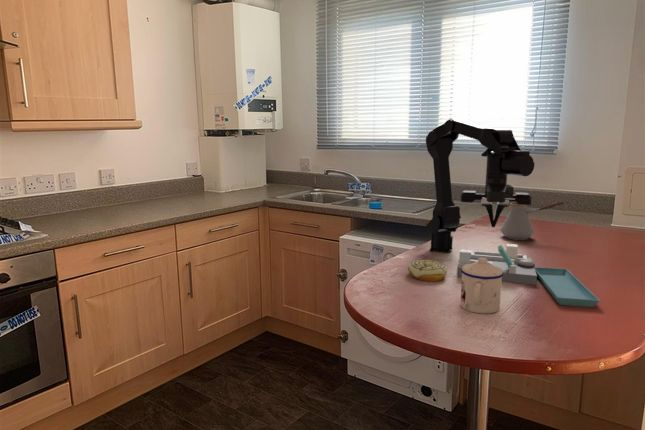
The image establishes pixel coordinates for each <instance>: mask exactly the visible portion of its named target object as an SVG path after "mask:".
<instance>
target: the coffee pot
mask: <svg viewBox="0 0 645 430" xmlns="http://www.w3.org/2000/svg"><path fill="white" fill-rule="evenodd" d="M509 205H510V208H511V209H510V211H509V212H508V214H507V216H506V218H505V220H504V222H503V224H502V226H501V228H500V231H501V232H500V233H502V235H503V236H504V237H505V238H506V239H509V240H516V241H527V240H528V239H529V238H531V237H532V236H533V234H534V227H533V225H532V222H531V219H530V217H529V214H532V213H535V212H538V211H543V210H548V209H552V208H555V207H558V206H560V205H564V207H565V208H567V203H566V202H565V201H560V202H556V203H551V204H548V205H545V206H544V205H543V206H541V207H539V208H538V207H537V208H535V209H532V210H531V209H530V210H527V207H528V206H529V205H519V204H518V203H517V202H516V201H513V202H509Z"/></svg>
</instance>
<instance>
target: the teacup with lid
mask: <svg viewBox="0 0 645 430" xmlns="http://www.w3.org/2000/svg"><path fill="white" fill-rule="evenodd" d="M461 272H462V278H461V286H460V288H461V289H460V306H461V307H462V309H464V310H466V311H469V312H471V313H475V314H484V315H485V314H487V315H488V314H494V313H497V312H498V311H499V310H500V309H501V308H500V307H501V294H502V293H501V292H502V276H503V271H502V270H501V269H500V268H499V267H496V266H494V265H492V264H491V263H489V262H487V258H483V257H481V258H479V259H478V261H476V262H473V263H472V264H466V265H464V266H463V267H462V269H461Z"/></svg>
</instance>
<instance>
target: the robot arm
mask: <svg viewBox="0 0 645 430" xmlns="http://www.w3.org/2000/svg"><path fill="white" fill-rule="evenodd" d="M460 135H461V136H464V137H467V138H470V139H472V140H473V139H474V140H476V141H478V142H479V143H480V145H482V146H483V147H485V148H486V150H485V151H484V152H482V153H481V155H480V156H481V157H486V169H485V187H484V188H485V189H484V193H476V192H477V191H476V190H462V191H461V195H460V202H461V203H470V204H473V202H474V201H480V203H481V204H480V205H481V207H485V209H486V211H487V214H488V218H489V222H490V225H491V226H490V227H491V228H496V226H497V223H498V220H499V218H500V215H501V213H502V212H503V210H504V209H505V208H509V205H510V204H509V203H510V202H517V203H518V204H519V205H528V206H531V205H532V196H531V194H530V193H529V192H515V193H514V188H515V186H514V185H515V184H508V175H510V176H520V177H529V176H530V175H531V174H532V173H533V171H534V169H535V161H534V158H533V157H532V155H530V154H531V153H530V152H531V151H530V150H521V148H520V146H519V145H518V144H519V143H518V142H517V140H516V139H515V137H514V134H513V130H512V129H510V128H506V127H505V128H501V127H486V126H484V125H479V124H476V123H472V122H470V121H466V120H463V119H461V118H450V119H447V120H446V121H444V123H443V124H440V125H439V126H436V127H435V128H434V129H432V130H431V131H429V133H427V135H426V137H425V144H426V145H425V146H426V149H427V150H426V151H427V153H428V154H429V155H430V157H431V158H432V160H433V161H432V162H433V163H432V164H433V173H434V186H435V197H436V203H435V205H434V208H433V209H432V219H430V220H429V221H428V222H427V224H426V226H425V227H426V232H427V233H430V248H429V251H431V252H439V253H440V252H441V253H442V252H443V253H450V252H451V250H453V242H454V241H453V239H454V236H453V235H452V233H456V232H457V229H458V226H459V224H460V220H461V218H462V217H461V212H460V211H461V208H460V206H459V205H456V204H455V203H454V201H453V195H452V194H453V193H452V182H451V169H450V155H451V153H452V151H453V148H454V146H453V145H454V142H455V141H456V140H458V138H459V136H460ZM493 203H496V205H495V211H494V210H493ZM493 211H494V212H493Z"/></svg>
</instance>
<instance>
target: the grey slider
mask: <svg viewBox="0 0 645 430" xmlns="http://www.w3.org/2000/svg"><path fill="white" fill-rule="evenodd" d="M471 251H472V249H462V248H461V249H459V255H458V256H459V258H458V263H462V264H470V263H471Z"/></svg>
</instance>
